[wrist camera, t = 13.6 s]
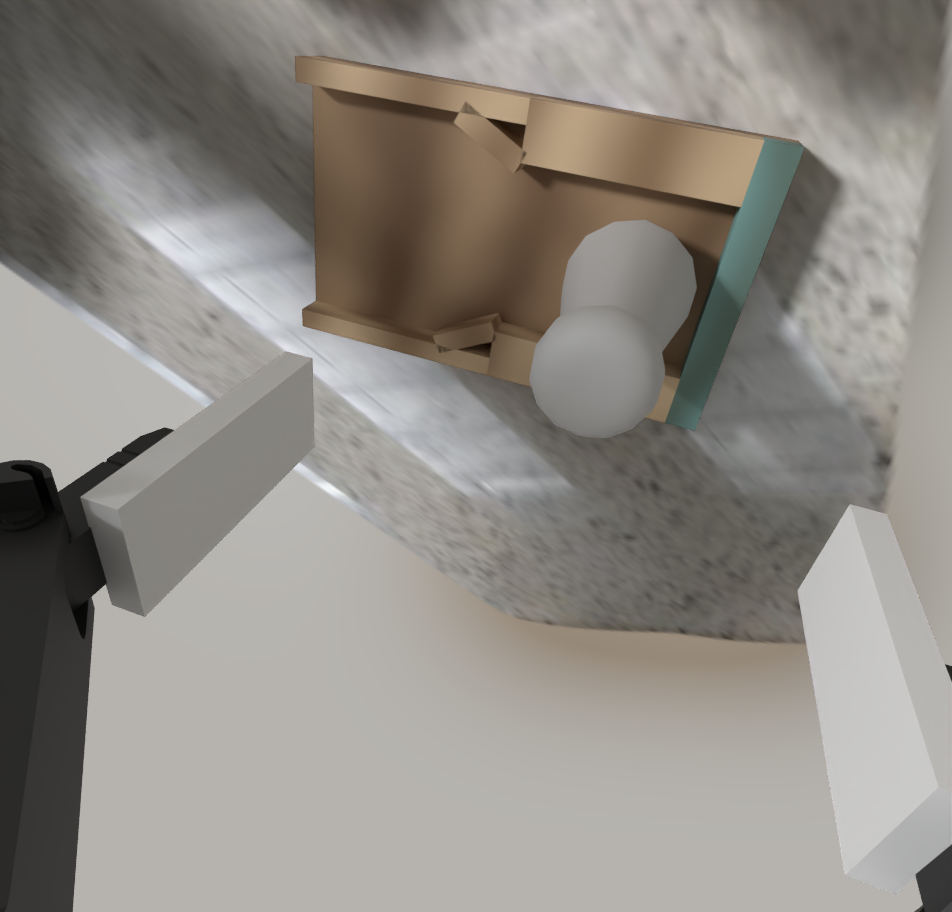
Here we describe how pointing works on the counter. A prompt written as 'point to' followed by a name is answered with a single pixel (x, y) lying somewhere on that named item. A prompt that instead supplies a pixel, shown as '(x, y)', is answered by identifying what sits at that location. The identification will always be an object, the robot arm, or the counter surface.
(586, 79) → the counter surface
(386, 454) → the counter surface
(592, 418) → the salt shaker
